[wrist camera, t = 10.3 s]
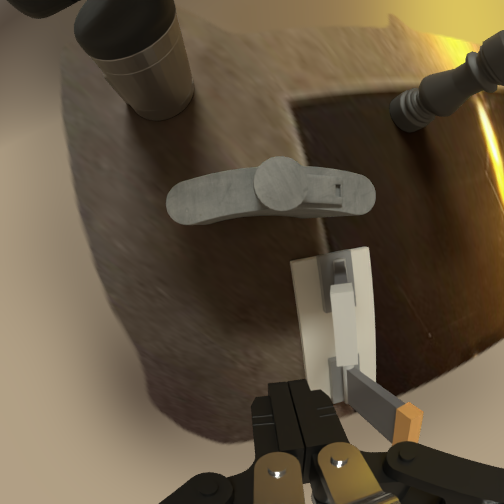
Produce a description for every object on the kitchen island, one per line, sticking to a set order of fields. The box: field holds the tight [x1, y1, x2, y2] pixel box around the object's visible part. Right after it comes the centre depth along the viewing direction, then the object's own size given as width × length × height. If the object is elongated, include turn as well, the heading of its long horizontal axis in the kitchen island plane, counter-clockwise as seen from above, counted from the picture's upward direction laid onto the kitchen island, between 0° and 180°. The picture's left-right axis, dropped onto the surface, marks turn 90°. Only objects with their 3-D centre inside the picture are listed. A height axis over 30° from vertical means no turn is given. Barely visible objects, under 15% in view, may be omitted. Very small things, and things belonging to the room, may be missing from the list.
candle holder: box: [390, 30, 504, 132], centre depth 26 cm, size 6×6×25 cm
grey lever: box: [330, 258, 358, 367], centre depth 29 cm, size 2×6×16 cm, turn 10°
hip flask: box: [166, 156, 376, 225], centre depth 28 cm, size 16×4×20 cm, turn 94°
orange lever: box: [343, 365, 424, 446], centre depth 31 cm, size 2×6×16 cm, turn 9°
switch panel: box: [290, 247, 376, 404], centre depth 39 cm, size 11×23×3 cm, turn 10°
